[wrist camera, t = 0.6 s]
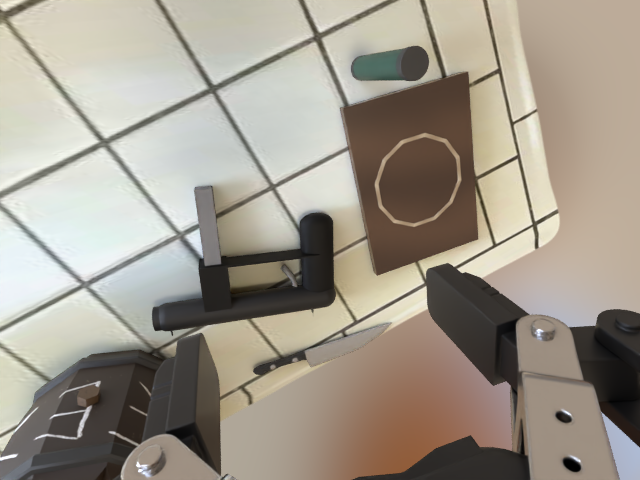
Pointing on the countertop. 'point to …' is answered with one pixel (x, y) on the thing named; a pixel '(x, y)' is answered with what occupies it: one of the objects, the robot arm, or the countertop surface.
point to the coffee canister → (84, 420)
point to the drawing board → (414, 170)
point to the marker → (392, 65)
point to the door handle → (214, 268)
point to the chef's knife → (326, 350)
